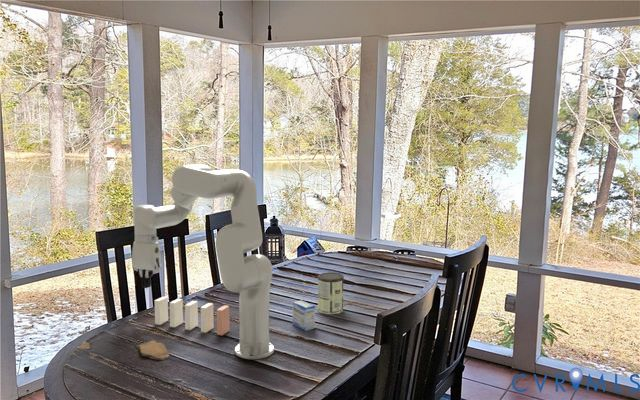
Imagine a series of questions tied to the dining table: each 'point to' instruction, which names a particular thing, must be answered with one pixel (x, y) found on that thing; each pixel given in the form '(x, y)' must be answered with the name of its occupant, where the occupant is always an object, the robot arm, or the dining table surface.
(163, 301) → the domino far
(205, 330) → the domino
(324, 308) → the coffee can
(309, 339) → the dining table surface
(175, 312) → the domino
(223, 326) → the terracotta domino
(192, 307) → the domino
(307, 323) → the medicine box
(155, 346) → the pottery shard
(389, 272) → the dining table surface
